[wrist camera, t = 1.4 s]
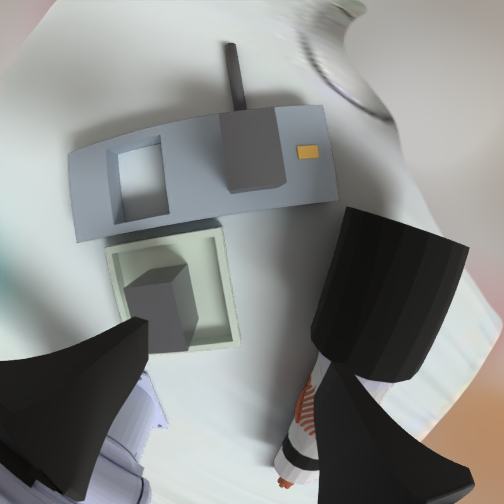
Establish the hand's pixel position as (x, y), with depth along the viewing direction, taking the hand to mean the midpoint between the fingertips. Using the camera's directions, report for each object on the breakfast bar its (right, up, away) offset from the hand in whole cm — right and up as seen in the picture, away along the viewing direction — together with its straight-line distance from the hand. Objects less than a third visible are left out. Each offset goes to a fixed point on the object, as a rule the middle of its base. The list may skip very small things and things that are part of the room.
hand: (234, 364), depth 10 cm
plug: (-6, +1, +13) cm, 15 cm away
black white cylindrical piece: (+8, -9, +16) cm, 21 cm away
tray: (-6, +1, +14) cm, 15 cm away
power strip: (-5, +15, +12) cm, 19 cm away
